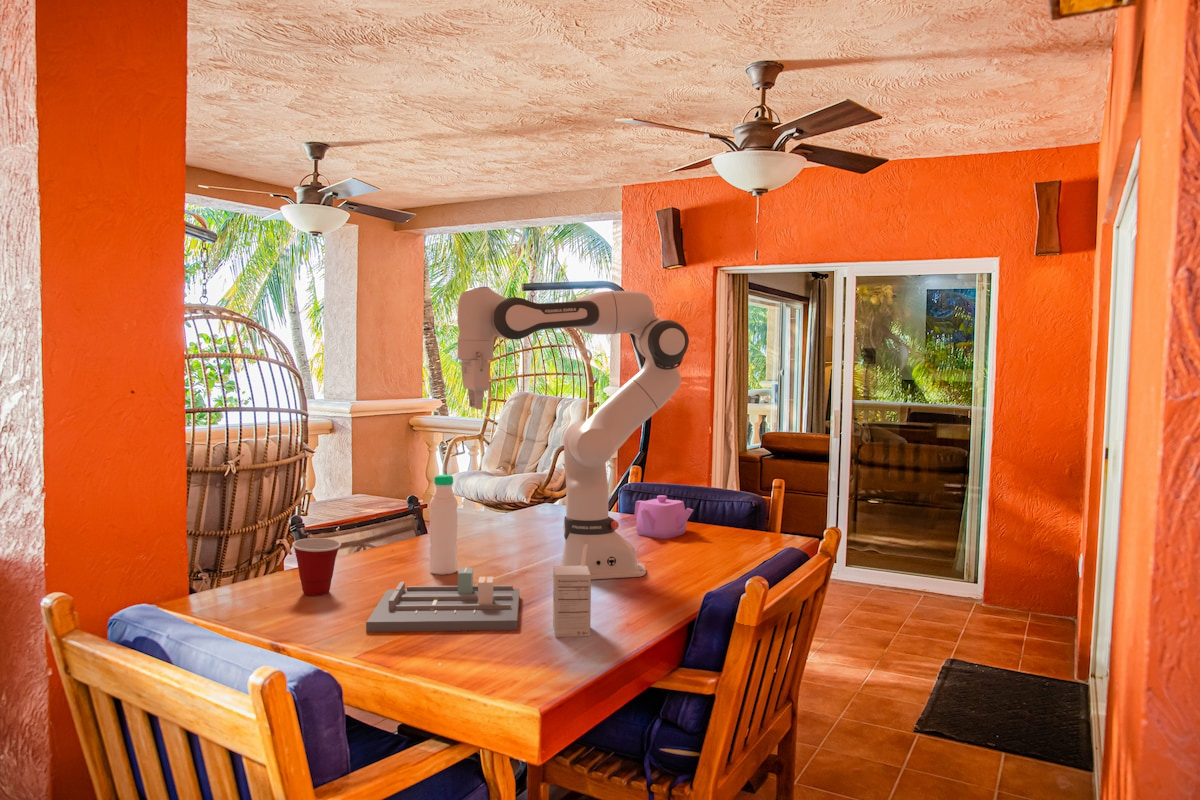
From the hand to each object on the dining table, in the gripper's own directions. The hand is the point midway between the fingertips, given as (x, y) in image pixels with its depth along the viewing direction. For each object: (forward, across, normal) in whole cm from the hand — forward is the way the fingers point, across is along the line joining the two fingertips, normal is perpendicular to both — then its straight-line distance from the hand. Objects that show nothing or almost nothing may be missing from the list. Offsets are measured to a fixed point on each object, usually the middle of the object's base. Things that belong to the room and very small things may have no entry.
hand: (475, 408), depth 209 cm
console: (+43, -28, +10) cm, 52 cm away
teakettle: (+44, +40, -65) cm, 88 cm away
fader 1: (+40, -21, +5) cm, 46 cm away
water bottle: (+43, +8, +7) cm, 44 cm away
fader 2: (+40, -30, +2) cm, 50 cm away
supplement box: (+43, -46, -12) cm, 65 cm away
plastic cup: (+43, -5, +38) cm, 57 cm away
